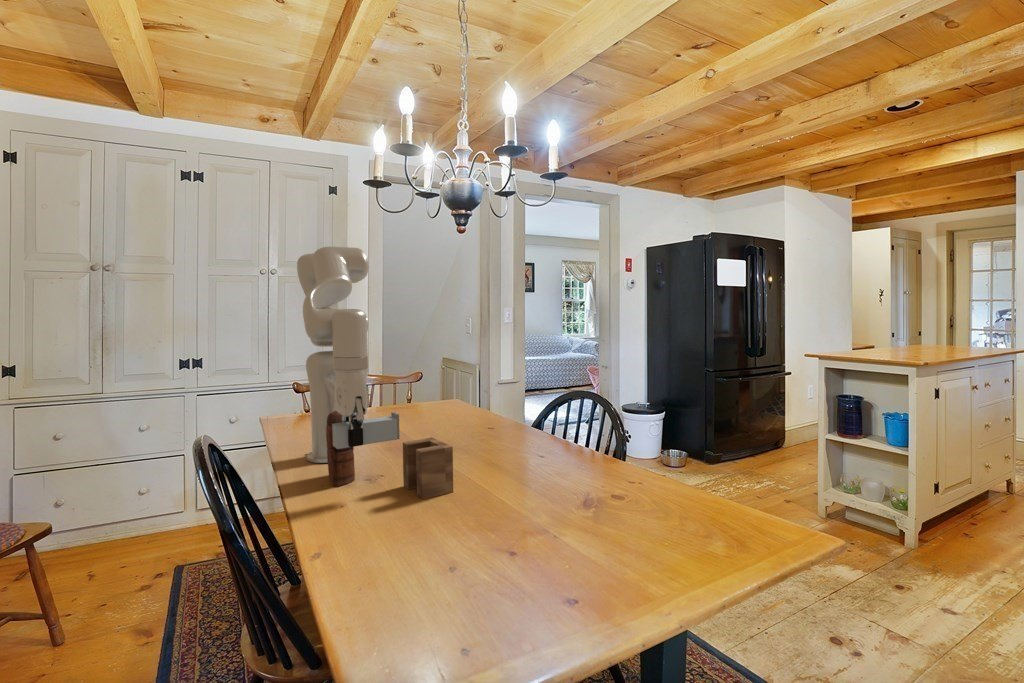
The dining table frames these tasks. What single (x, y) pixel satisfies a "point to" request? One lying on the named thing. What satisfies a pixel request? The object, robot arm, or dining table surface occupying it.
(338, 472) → the wooden figurine
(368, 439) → the rail
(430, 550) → the dining table surface
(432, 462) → the brown wooden u-shaped block
